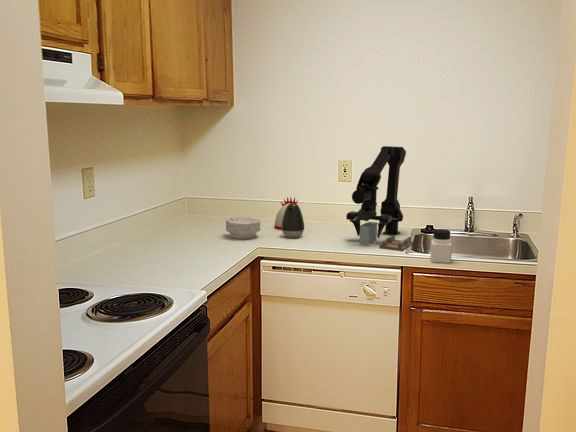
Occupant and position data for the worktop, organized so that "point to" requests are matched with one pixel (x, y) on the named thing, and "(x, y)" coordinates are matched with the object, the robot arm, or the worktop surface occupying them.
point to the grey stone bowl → (243, 227)
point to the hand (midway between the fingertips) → (368, 236)
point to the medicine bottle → (441, 246)
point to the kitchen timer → (282, 213)
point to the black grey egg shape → (292, 221)
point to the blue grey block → (368, 233)
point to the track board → (396, 243)
